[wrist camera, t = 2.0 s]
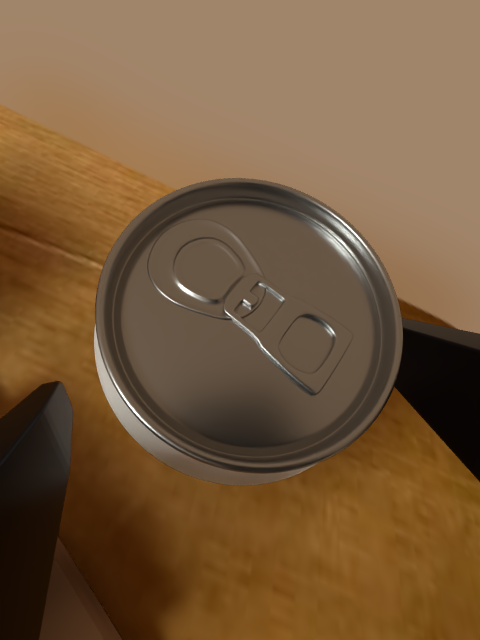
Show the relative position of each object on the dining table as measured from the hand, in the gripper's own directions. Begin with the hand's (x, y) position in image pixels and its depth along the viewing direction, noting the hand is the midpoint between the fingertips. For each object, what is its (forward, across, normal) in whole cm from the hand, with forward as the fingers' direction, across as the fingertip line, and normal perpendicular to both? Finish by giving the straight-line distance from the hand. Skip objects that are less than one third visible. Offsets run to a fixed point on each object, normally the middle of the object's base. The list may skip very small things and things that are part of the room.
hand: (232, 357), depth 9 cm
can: (+6, 0, +6) cm, 8 cm away
